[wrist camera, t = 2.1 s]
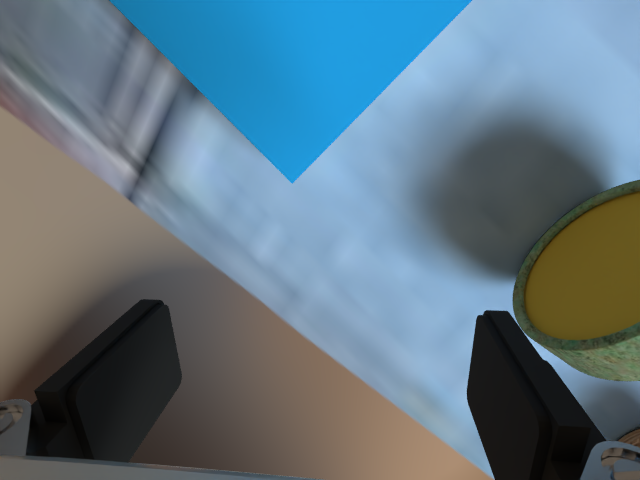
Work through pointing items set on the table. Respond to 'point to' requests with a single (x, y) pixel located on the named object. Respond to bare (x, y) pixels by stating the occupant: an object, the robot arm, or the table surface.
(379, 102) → the table surface
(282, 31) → the book
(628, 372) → the decorative artifact
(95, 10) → the table surface
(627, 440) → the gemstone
